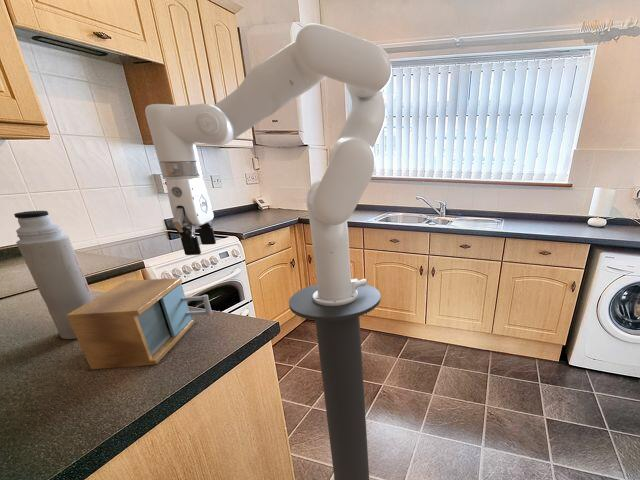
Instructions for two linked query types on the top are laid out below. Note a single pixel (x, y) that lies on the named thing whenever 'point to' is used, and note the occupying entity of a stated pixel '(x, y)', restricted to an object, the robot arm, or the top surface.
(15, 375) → the top surface
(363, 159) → the robot arm
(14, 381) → the top surface
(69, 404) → the top surface
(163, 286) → the cabinet
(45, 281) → the thermos bottle
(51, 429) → the top surface
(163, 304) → the blue door
